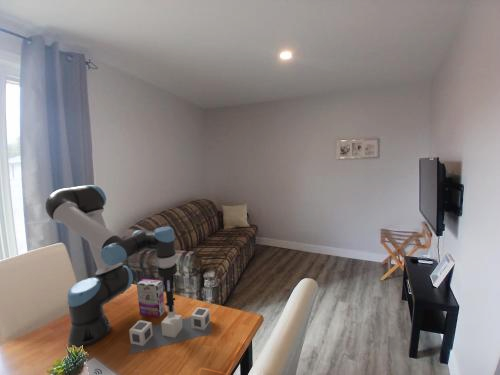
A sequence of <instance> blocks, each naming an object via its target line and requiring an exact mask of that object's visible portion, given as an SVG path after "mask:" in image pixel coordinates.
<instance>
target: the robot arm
mask: <svg viewBox="0 0 500 375" xmlns="http://www.w3.org/2000/svg"><path fill="white" fill-rule="evenodd" d="M106 203H107V196H106V193H105V192H104V191H103V189H102V188H101V187H99V186H97V185H95V184H89V185H88V184H85V185H79V186H73V187H67V188H64V187H63V188H60V189H57V190H55V191H53V192H52V193H51V194H49V196H48V197H47V199H46V201H45V212H46V214H47V215H48V216H49V218H50V219H51V220H53V221H54V222H56V223H58V224H63V225H64V226H66V227H68V228H69V229H70V230H72V231H73V232H74V233H76V234H77V235H78V236H80V237H82V238H83V239H84V240H85V241H86V242H88V245H89V248H90V251H91V254H92V257H93V260H94V262H95V265H96V268H97V270H96V271H95V277H88V278H86V279H82V280H80V281H78V282H76V283H75V284H73V285H72V286H71V287H70V289H69V290H68V292H67V305H68V310H69V315H70V316H69V317H70V322H71V326H70V329H69V334H68V337H67V338H68V345H69V347H70V346H72V345H75V346H76V347H80V346H82V345H83V347H84V348H87V347H90V346H92V345H95V344H97V343H99V342H101V341H102V340H103V339H104V338H106V336H107V335H108V334H109V333H110V331H111V323H110V321H109V319H108V317H107V316H106V314H105V311H104V306H105V305H106V304H107V303H109V302H110V301H112V300H113V299H115V298H117V297H119V296H121V295H122V294H124V293H126V291H127V290H129V289H130V288H131V286H132V284H133V281H134V277H133V276H134V275H133V272H132V270H131V269H130V267H129V266H127V265H124V264H123V262H125V261H126V260H129V259H130V258H133V257H135V256H136V255H138V254H140V253H142V252H145V251H146V250H150V251H155V254H156V256H155V257H156V258H155V259H156V265H157V274H158V276H159V277H160V278H163V280H162V281H163V288H164V291H165V298H166V302H165V306H167V307H166V308H167V316H168V319H169V318H173V317H175V314H176V312H175V310H176V309H175V301H176V297H174V290H173V289H174V282H175V280H174V275H176V274H177V273H178V264H177V258H178V255H177V252H176V236H175V231H174V228H173V227H172V226H161V227H157V228H155V229H154V231H153V230H147V229H137V230H135V231H134V232H133V233H132V234H131V235H130V236H128V237H125V238H122V237H120V236H119V235H117V234H116V233H114V232H113V231H111V230H110V229H108V228H107V225H106V223H105V220H104V217H103V212H104V210H105V208H104V206H106Z"/></svg>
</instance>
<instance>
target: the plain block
mask: <svg viewBox="0 0 500 375" xmlns="http://www.w3.org/2000/svg"><path fill="white" fill-rule="evenodd" d="M182 316H183V315H181V314H176V313H175V317H173V318H169V319H168V315H167V316H166V317H165V318H164V319H163V320H161V323H160V324H161V325H162V335H164V336H168V337H173V338H175V337H176V336H177V334H178V333H179V332H180V331H181V329H182V319H183V318H182Z"/></svg>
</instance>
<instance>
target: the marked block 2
mask: <svg viewBox="0 0 500 375" xmlns="http://www.w3.org/2000/svg"><path fill="white" fill-rule="evenodd" d="M190 317H191V323H192V328H195V329H200V330H205V328H206V327H207V325H208V324H209V322H210V323H211V312H210V308H206V307H201V306H200V307H198V306H197V307H196V308H195V309H194V311H193V312H192V313H191V314H190Z"/></svg>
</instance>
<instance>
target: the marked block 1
mask: <svg viewBox="0 0 500 375" xmlns="http://www.w3.org/2000/svg"><path fill="white" fill-rule="evenodd" d="M152 326H153V324H152V322H151V321H146V320H141V319H139V320H138V321H137V322H136V323H135V324H133V326H132V327H131V328H130V329H129V339H130V344H136V345H141V346H144V344H145V343H146V342H147V341H148V340H149V339H150V338H151V337H152V336H153V332H152Z"/></svg>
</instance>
